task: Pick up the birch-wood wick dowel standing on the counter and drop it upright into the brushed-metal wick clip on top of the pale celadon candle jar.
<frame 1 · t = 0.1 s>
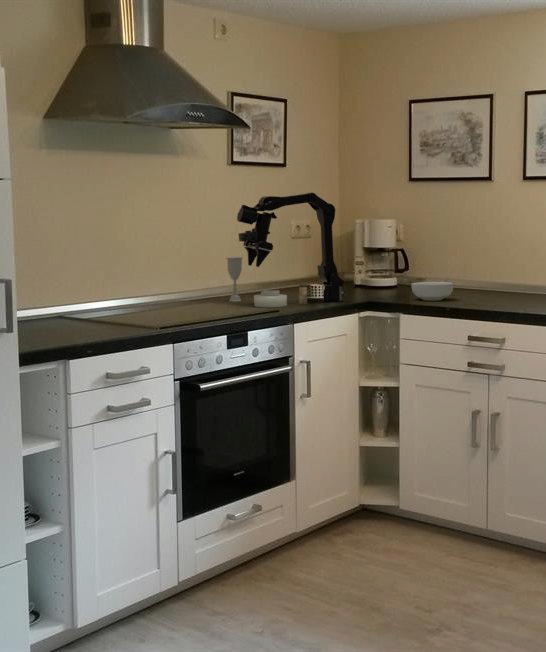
hand: (253, 266, 379), 15 cm above the worktop, tool pointing down, fingers open, 9 cm apart
wick dowel: (303, 303, 385), on the worktop
chalice: (235, 301, 399), on the worktop
candle jar: (270, 305, 378), on the worktop
cereal bowl: (432, 300, 394), on the worktop
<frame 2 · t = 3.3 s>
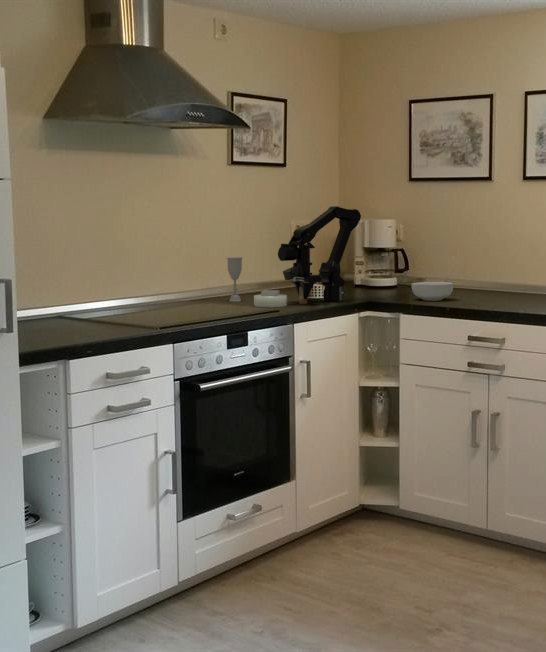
hand: (303, 299, 385), 2 cm above the worktop, tool pointing down, fingers closed on wick dowel, 3 cm apart
wick dowel: (303, 303, 385), on the worktop, touching gripper
everything else where it was.
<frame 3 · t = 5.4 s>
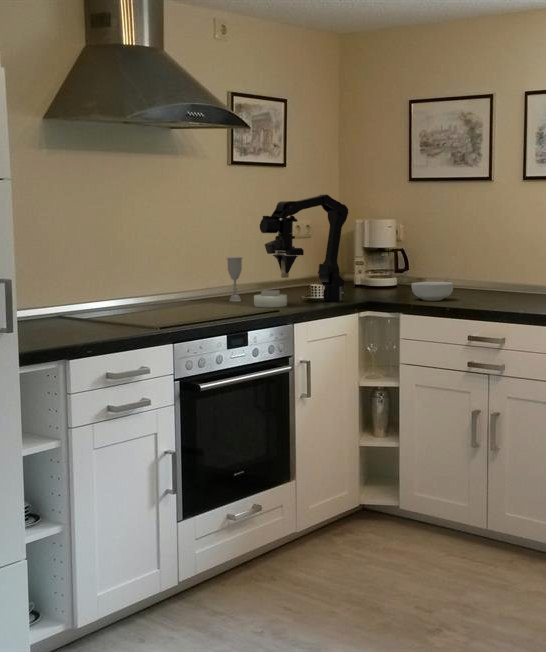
hand: (284, 272, 379), 13 cm above the worktop, tool pointing down, fingers closed on wick dowel, 3 cm apart
wick dowel: (284, 277, 380), point 11 cm above the worktop, touching gripper
everything else where it was.
when the fingers open (7 cm above the worktop, at t = 7.7 s): wick dowel stays where it is, resting on candle jar.
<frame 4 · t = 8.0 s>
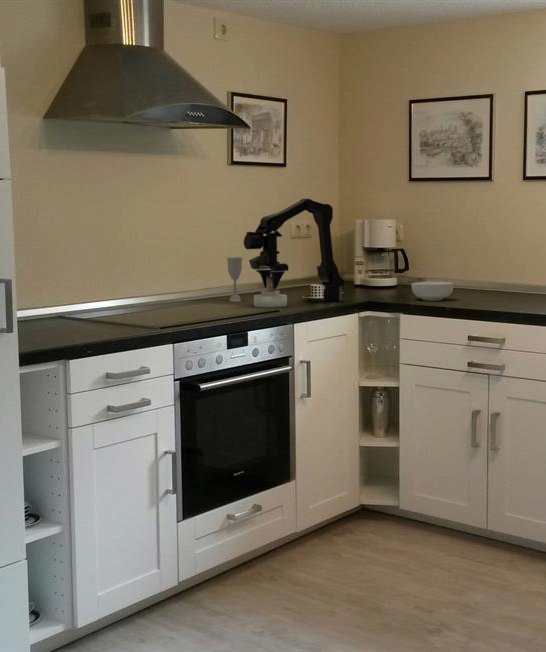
hand: (270, 288, 377), 7 cm above the worktop, tool pointing down, fingers open, 6 cm apart
wick dowel: (270, 295, 377), point 4 cm above the worktop, touching candle jar
everything else where it was.
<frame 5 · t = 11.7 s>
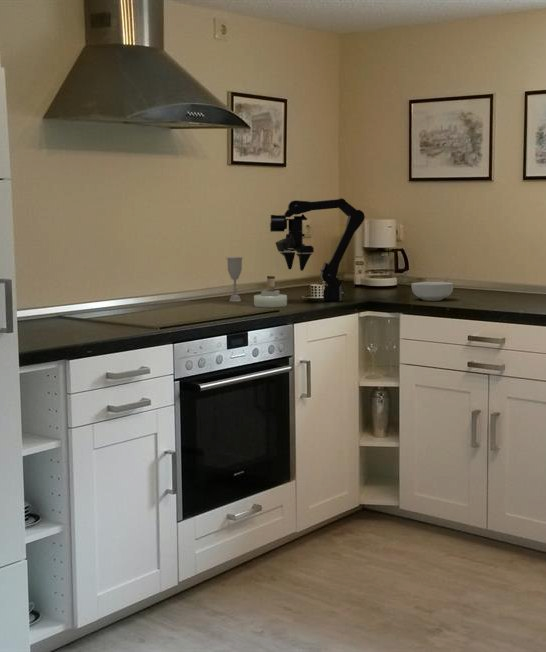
hand: (295, 270, 391), 13 cm above the worktop, tool pointing down, fingers open, 9 cm apart
nothing on the worktop moved.
at the end: wick dowel 0.0 cm off-centre on the candle jar, point 4.1 cm above the candle jar's base; wick dowel tilted 2°; the gripper is holding nothing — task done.
